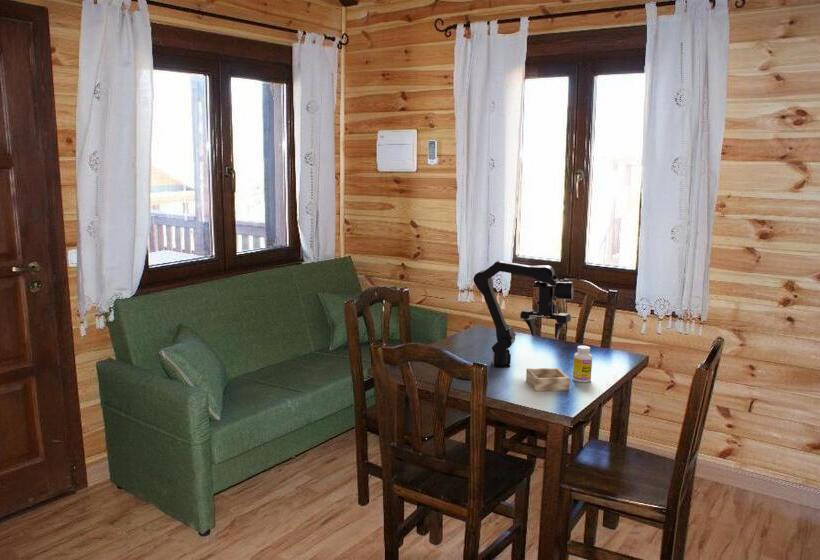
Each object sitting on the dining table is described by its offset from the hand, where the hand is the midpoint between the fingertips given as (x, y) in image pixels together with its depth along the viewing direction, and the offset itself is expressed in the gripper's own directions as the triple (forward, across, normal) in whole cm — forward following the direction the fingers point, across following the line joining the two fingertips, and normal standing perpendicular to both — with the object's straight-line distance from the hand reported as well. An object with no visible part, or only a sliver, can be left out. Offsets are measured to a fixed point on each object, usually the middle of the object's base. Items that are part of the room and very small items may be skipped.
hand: (544, 337), depth 273 cm
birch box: (+13, -8, +17) cm, 23 cm away
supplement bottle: (+14, -16, +4) cm, 22 cm away
